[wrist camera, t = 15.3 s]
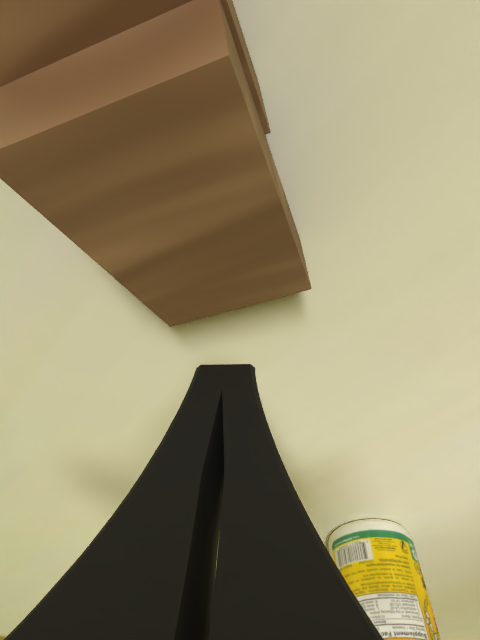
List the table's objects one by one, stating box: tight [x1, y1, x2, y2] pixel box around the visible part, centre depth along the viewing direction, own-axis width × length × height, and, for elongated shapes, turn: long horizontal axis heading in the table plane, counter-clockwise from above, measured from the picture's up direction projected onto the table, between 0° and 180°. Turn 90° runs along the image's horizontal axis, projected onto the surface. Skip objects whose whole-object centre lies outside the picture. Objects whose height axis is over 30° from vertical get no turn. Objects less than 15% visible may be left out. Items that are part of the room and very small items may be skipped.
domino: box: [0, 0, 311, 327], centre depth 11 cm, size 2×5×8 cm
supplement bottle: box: [328, 519, 440, 640], centre depth 24 cm, size 5×5×10 cm
